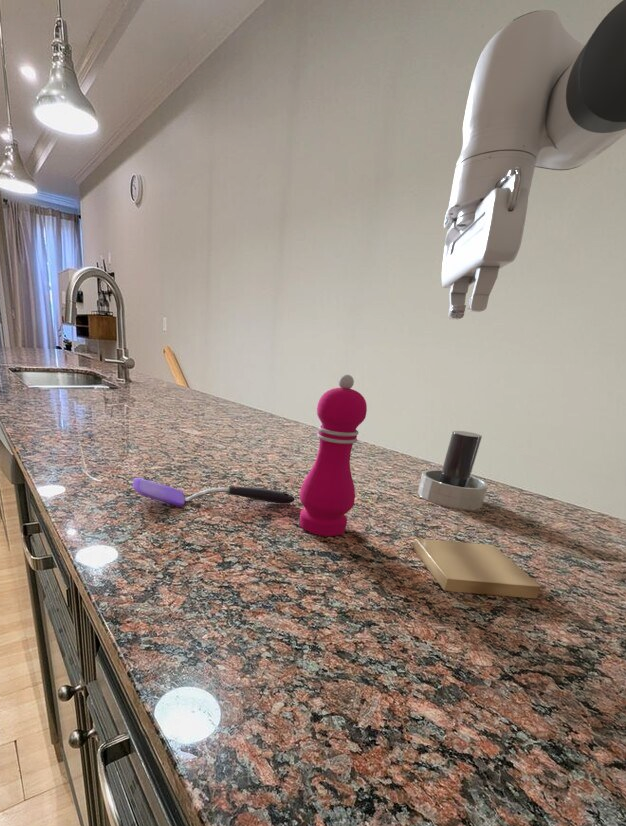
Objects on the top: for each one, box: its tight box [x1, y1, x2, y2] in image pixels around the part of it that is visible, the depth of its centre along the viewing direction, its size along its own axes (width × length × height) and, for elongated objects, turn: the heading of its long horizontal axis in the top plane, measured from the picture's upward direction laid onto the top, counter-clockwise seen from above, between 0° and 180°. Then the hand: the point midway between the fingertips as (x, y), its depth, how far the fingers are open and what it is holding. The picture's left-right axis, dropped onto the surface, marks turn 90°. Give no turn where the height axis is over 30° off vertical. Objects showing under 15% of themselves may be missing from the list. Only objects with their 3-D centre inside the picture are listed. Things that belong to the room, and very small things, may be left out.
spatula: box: [132, 477, 295, 508], centre depth 66 cm, size 24×7×2 cm, turn 98°
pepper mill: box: [298, 374, 368, 537], centre depth 57 cm, size 7×7×20 cm
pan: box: [417, 469, 489, 510], centre depth 75 cm, size 10×10×4 cm
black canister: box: [439, 430, 483, 488], centre depth 74 cm, size 4×4×11 cm
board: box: [412, 538, 542, 600], centre depth 52 cm, size 10×10×2 cm
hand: (465, 315), depth 60 cm, fingers open, 8 cm apart
